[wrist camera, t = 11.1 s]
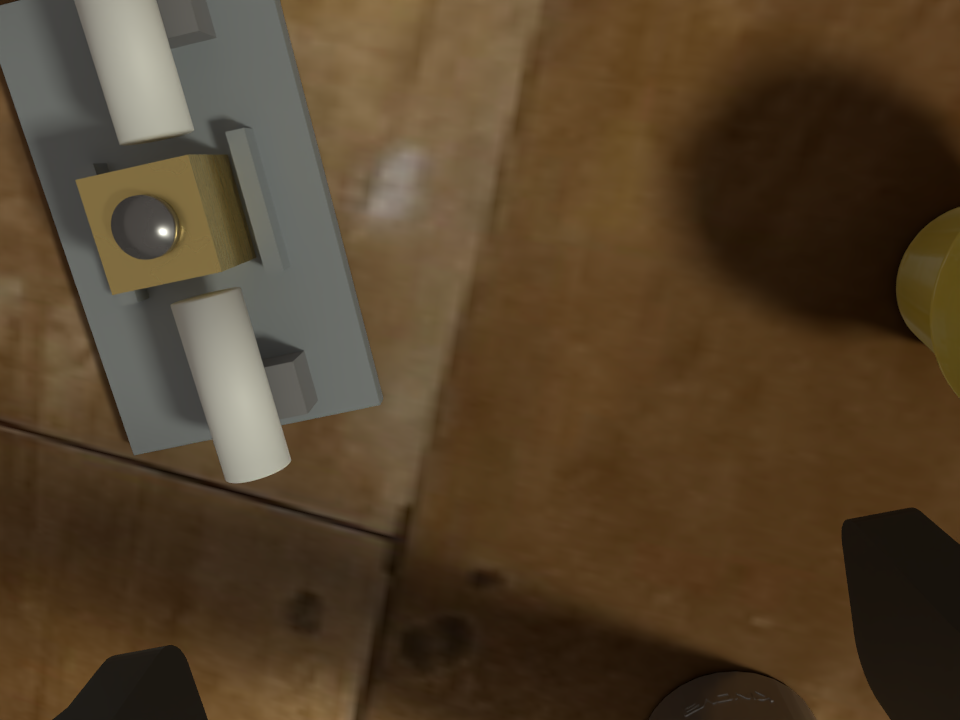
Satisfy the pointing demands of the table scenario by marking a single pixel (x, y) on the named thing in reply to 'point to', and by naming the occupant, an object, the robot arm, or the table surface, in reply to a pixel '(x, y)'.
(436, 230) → the table surface
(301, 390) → the twin roller base
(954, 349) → the plant pot
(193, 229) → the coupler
